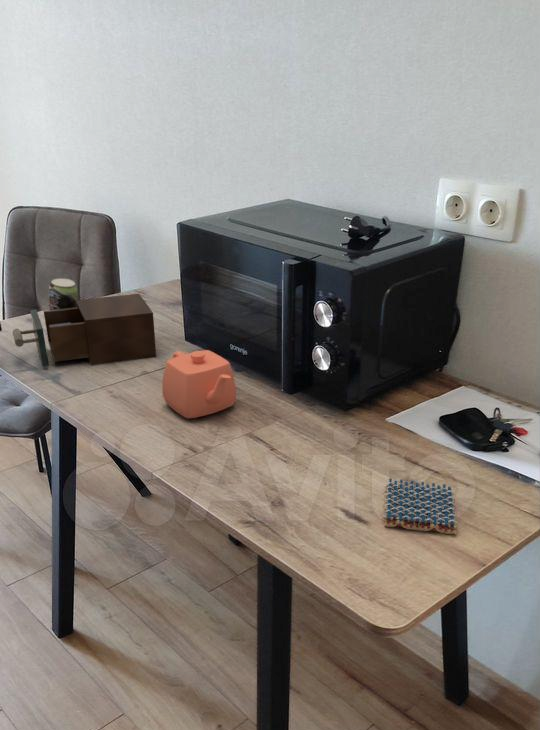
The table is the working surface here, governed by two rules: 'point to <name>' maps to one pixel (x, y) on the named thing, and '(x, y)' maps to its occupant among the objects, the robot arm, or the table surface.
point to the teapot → (198, 383)
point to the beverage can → (62, 294)
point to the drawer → (58, 335)
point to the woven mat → (420, 507)
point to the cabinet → (118, 328)
